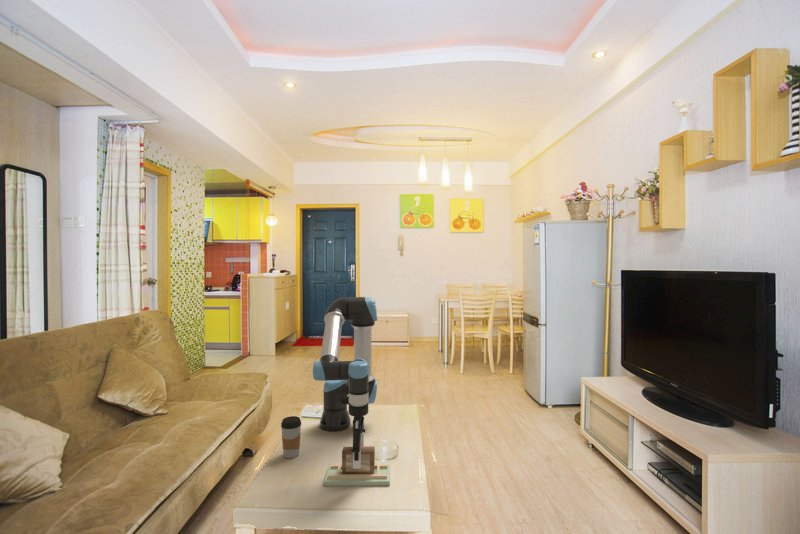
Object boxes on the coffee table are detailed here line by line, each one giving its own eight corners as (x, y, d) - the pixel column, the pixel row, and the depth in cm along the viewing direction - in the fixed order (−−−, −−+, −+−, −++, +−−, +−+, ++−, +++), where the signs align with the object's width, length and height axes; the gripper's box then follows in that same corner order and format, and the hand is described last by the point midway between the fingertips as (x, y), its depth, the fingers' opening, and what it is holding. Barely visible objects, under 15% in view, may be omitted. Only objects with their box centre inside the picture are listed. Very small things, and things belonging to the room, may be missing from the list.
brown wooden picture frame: (343, 469, 150) (343, 446, 150) (374, 469, 150) (374, 446, 150) (342, 475, 146) (342, 451, 145) (374, 475, 146) (374, 451, 146)
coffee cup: (295, 460, 159) (295, 424, 159) (277, 458, 161) (277, 422, 161) (304, 451, 168) (304, 416, 167) (287, 449, 169) (286, 415, 169)
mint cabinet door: (329, 468, 153) (329, 461, 153) (390, 468, 154) (390, 460, 154) (324, 485, 141) (323, 477, 141) (389, 485, 142) (389, 477, 142)
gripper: (352, 391, 160) (352, 443, 160) (344, 416, 135) (344, 476, 135) (370, 391, 160) (370, 442, 160) (365, 416, 135) (365, 476, 135)
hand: (358, 458), depth 148 cm, fingers open, 13 cm apart
